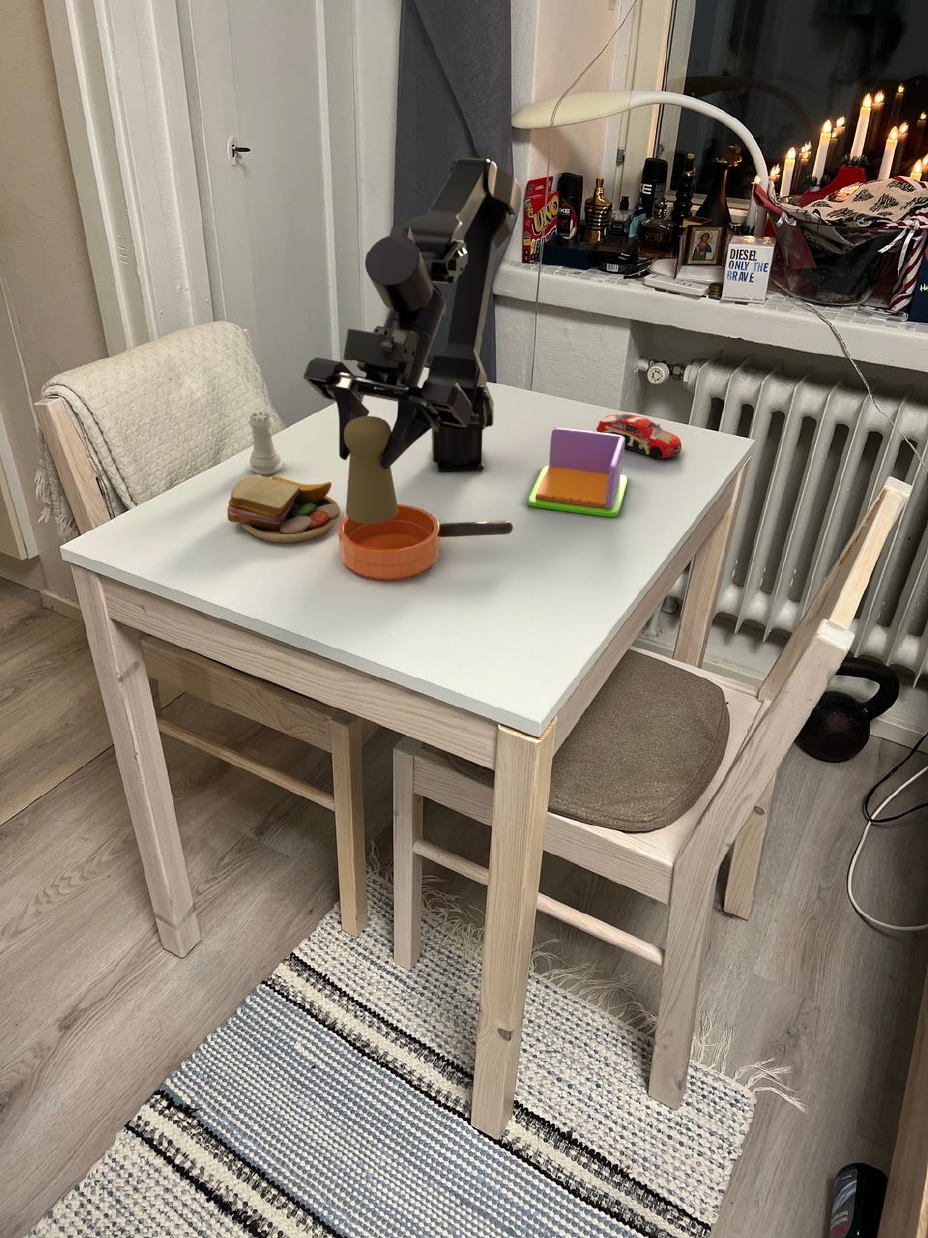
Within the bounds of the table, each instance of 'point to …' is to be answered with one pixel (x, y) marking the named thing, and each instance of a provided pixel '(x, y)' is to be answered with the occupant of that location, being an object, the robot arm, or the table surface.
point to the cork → (369, 472)
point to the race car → (641, 435)
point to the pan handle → (474, 528)
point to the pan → (390, 544)
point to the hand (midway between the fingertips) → (362, 463)
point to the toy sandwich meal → (282, 508)
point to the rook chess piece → (263, 446)
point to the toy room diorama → (582, 474)
